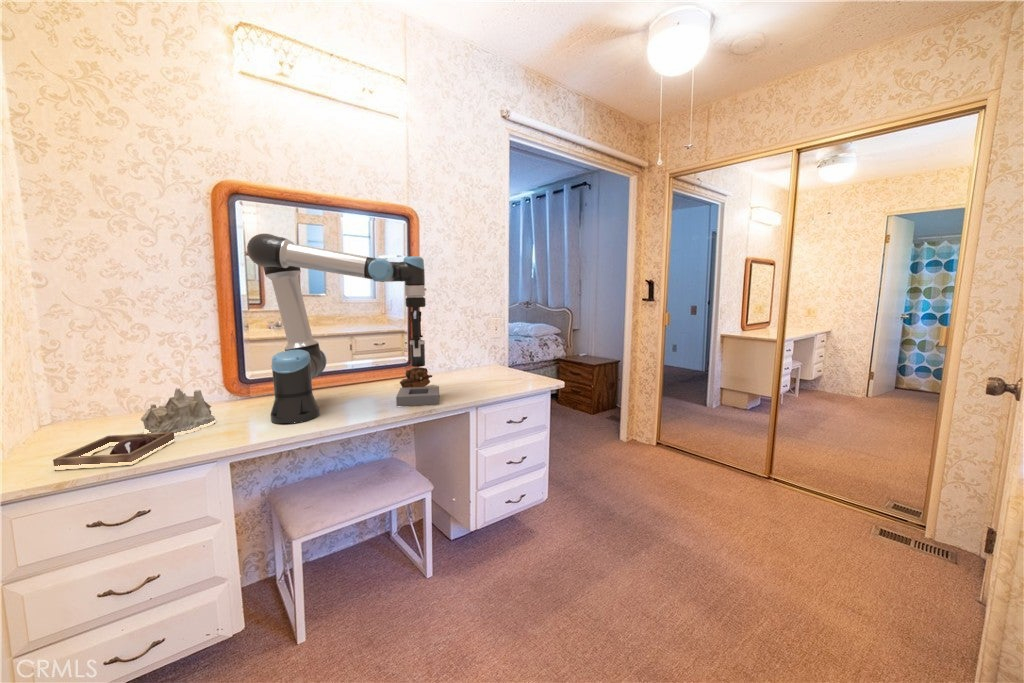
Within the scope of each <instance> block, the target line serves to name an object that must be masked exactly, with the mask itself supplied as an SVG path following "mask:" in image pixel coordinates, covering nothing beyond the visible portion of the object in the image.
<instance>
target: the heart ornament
mask: <svg viewBox="0 0 1024 683" xmlns="http://www.w3.org/2000/svg"><path fill="white" fill-rule="evenodd" d="M156 439H157V438H155V437H150V436H147V437H145V438H132V439H127V440H124V441H121V442H119V443H118V444H116V445H115V446H113V447H112V449H111V451H110V452H109V455H112V454H128V453H131V452H133V451H135V450H137V449H139V448H141V447H143V446H145V445H146V444H148V443H150V442H152V441H154V440H156Z"/></svg>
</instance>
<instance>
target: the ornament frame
mask: <svg viewBox="0 0 1024 683" xmlns="http://www.w3.org/2000/svg"><path fill="white" fill-rule="evenodd" d="M147 436H150V437H155V438H157V439H156V440H154V441H152V442H150V443H148V444H146V445H145V446H143V447H141V448H139V449H137V450H135V451H133V452H131V453H128V454H112V455H110V454H99V455H97V454H95V455H92V456H81V455H83V454H85V453H88V452H90V451H92V450H94V449H96V448H98V447H101V446H103V445H105V444H107V443H109V442H121V441H124V440H127V439H132V438H145V437H147ZM173 439H175V436H174V432H165V433H147V434H143V433H134V434H133V433H132V434H115V435H114V434H113V435H111V434H110V435H106V436H104V437H101V438H100V439H98V440H95V441H93V442H90V443H88V444H85V445H83V446H81V447H79V448H76V449H74V450H72V451H70V452H68V453H65V454H62V455H61V456H58V457H56V458H54V459H52V462H53V467H54V466H58V465H59V466H60V465H79V464H80V465H81V464H100V463H118V462H132V461H134V460H136V459H138V458H140V457H142V456H143V455H145V454H147V453H149V452H150V451H153V450H154V449H156V448H158V447H160V446H162V445H164V444H166V443H168V442H169V441H171V440H173ZM79 456H80V457H79Z"/></svg>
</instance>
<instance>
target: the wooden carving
mask: <svg viewBox="0 0 1024 683" xmlns="http://www.w3.org/2000/svg"><path fill="white" fill-rule="evenodd" d="M428 371H429V370H428V369H427V368H426V367H411V368H410V369H407V370H406V371H405V376H406V378H403V379H400V381H399V384H400V386H401V388H408V387H428V385H429V384H430V383H431V380H430V378H432V377H433V375H432V374H428V373H429V372H428Z"/></svg>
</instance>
